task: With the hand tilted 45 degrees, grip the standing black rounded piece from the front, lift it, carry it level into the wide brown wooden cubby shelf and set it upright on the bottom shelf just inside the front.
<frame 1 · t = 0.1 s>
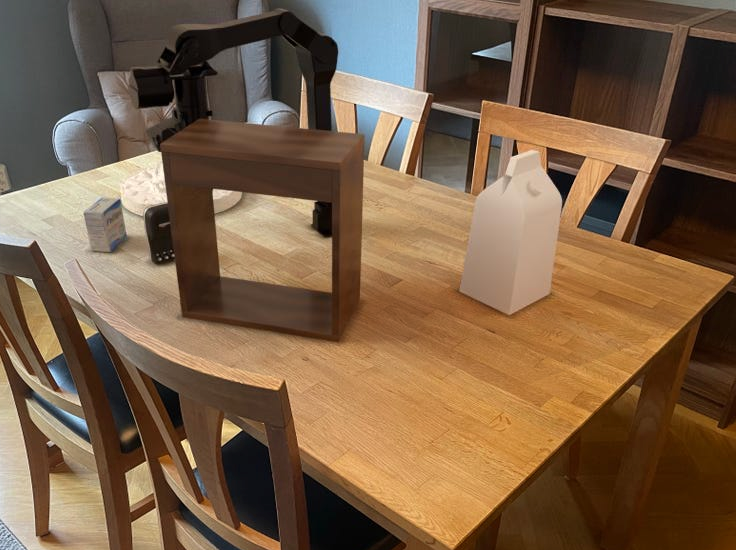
hand: (199, 187, 140), 15 cm above the table, tool pointing down, fingers open, 9 cm apart
milk: (504, 293, 137), on the table
medicine box: (109, 245, 153), on the table
cake: (182, 197, 175), on the table
black rounded piece: (169, 261, 147), on the table
brown wooden cubby shelf: (272, 309, 131), on the table
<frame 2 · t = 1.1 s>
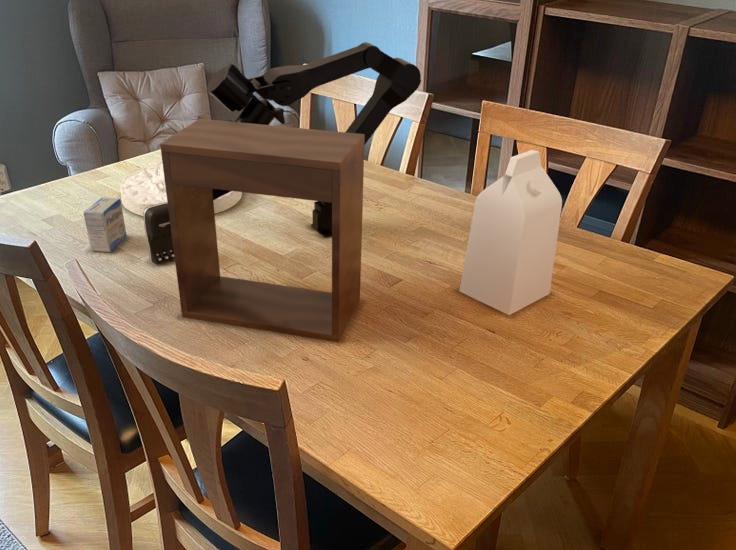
hand: (199, 192, 143), 13 cm above the table, tool tilted 45°, fingers open, 9 cm apart
nothing on the table moved.
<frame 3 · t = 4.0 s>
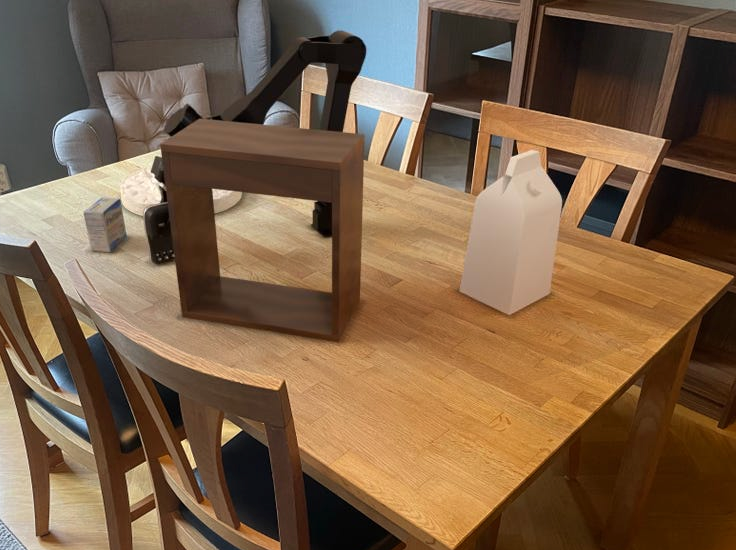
hand: (157, 231, 143), 7 cm above the table, tool tilted 45°, fingers closed on black rounded piece, 4 cm apart
black rounded piece: (168, 261, 147), on the table, touching gripper
everything else where it was.
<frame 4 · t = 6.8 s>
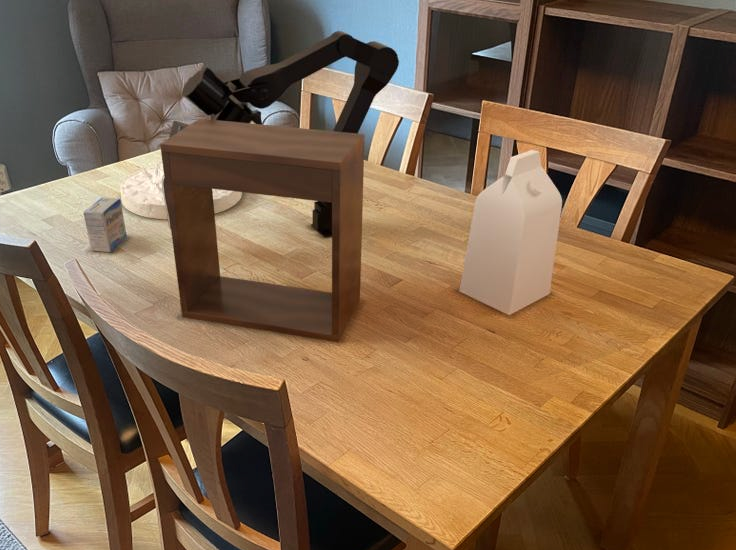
hand: (176, 197, 141), 13 cm above the table, tool tilted 45°, fingers closed on black rounded piece, 4 cm apart
black rounded piece: (188, 229, 145), point 6 cm above the table, touching gripper
everything else where it was.
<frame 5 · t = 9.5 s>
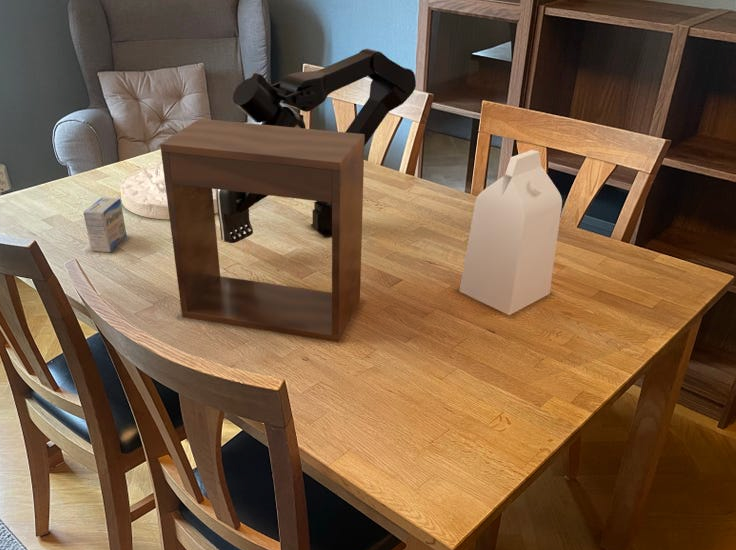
hand: (231, 208, 139), 12 cm above the table, tool tilted 45°, fingers closed on black rounded piece, 4 cm apart
black rounded piece: (239, 239, 143), point 5 cm above the table, touching gripper
everything else where it was.
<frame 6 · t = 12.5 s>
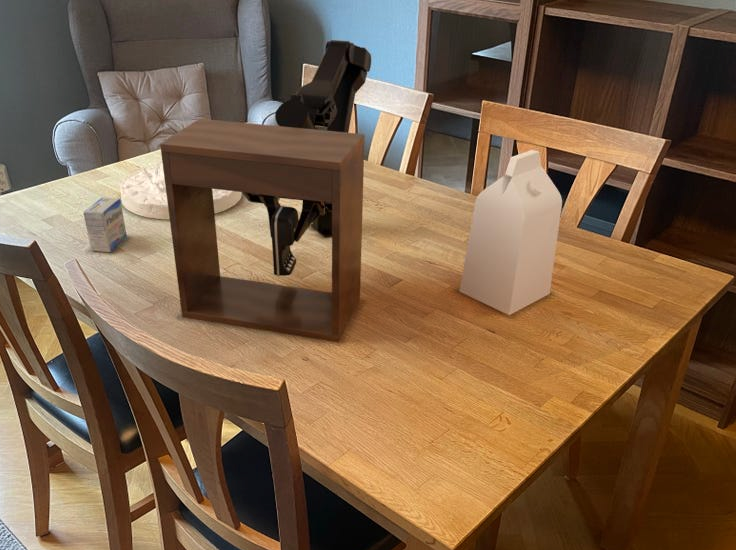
hand: (284, 239, 131), 10 cm above the table, tool tilted 45°, fingers closed on black rounded piece, 4 cm apart
black rounded piece: (287, 270, 136), point 4 cm above the table, touching gripper
everything else where it was.
when the fingers open (8 cm above the table, at t = 14.9 s): black rounded piece stays where it is, resting on brown wooden cubby shelf.
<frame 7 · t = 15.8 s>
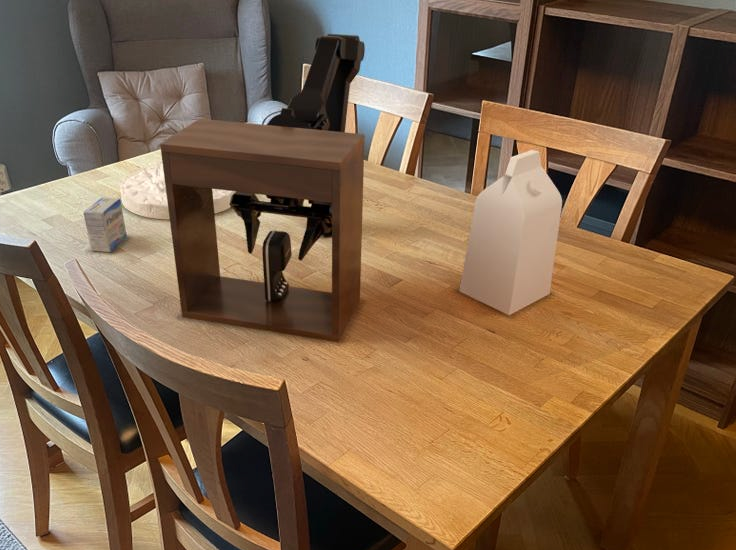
hand: (274, 256, 127), 9 cm above the table, tool tilted 45°, fingers open, 9 cm apart
black rounded piece: (279, 294, 133), point 1 cm above the table, touching brown wooden cubby shelf
everything else where it was.
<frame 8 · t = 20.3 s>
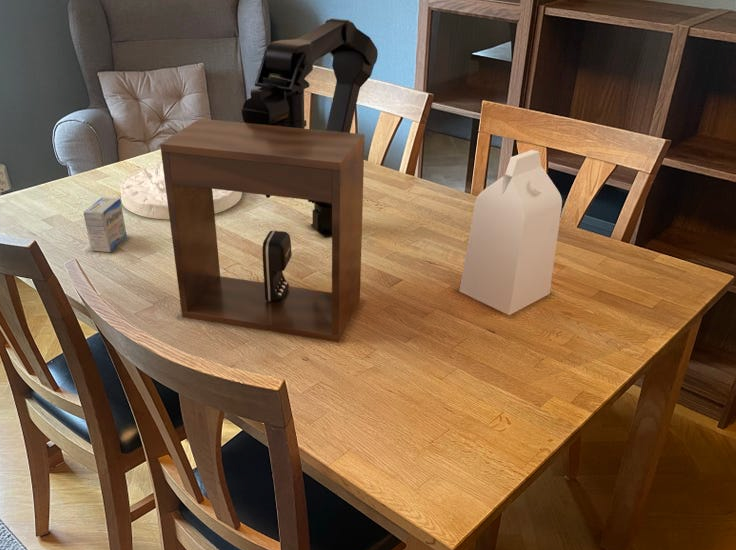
hand: (291, 199, 142), 12 cm above the table, tool pointing down, fingers open, 9 cm apart
nothing on the table moved.
at the end: black rounded piece inside the target area on the brown wooden cubby shelf (0.1 cm from its centre), point 1.0 cm above the brown wooden cubby shelf's base; black rounded piece tilted 0°; the gripper is holding nothing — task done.
